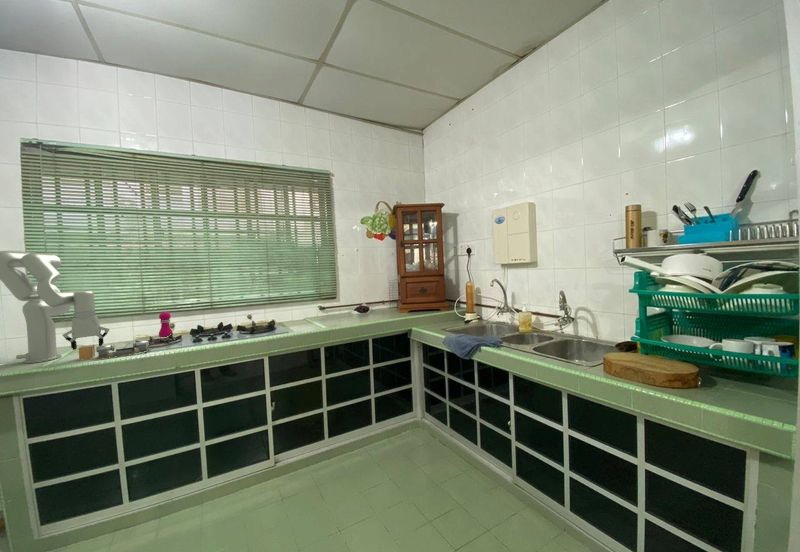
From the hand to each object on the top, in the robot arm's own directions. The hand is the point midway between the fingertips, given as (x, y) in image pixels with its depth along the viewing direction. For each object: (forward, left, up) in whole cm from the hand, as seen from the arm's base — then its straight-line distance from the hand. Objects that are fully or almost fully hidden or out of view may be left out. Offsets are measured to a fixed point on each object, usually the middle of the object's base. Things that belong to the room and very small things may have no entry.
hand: (88, 347), depth 158 cm
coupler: (-1, 0, -6) cm, 6 cm away
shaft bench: (+14, -3, -6) cm, 16 cm away
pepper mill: (+30, +24, -6) cm, 39 cm away
